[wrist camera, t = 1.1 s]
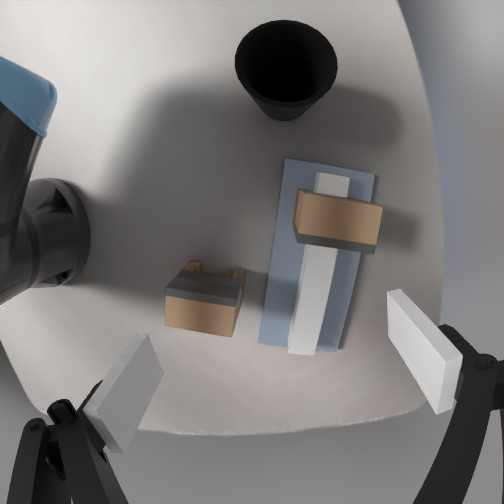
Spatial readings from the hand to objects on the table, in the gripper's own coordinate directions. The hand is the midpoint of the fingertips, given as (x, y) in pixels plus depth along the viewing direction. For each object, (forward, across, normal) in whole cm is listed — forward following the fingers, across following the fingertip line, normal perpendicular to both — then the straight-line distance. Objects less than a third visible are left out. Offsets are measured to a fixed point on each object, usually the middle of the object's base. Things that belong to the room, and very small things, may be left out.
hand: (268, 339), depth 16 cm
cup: (+21, +5, +16) cm, 27 cm away
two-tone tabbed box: (+20, -7, -3) cm, 22 cm away
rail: (+20, +5, -3) cm, 21 cm away
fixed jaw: (+19, +7, +3) cm, 21 cm away
